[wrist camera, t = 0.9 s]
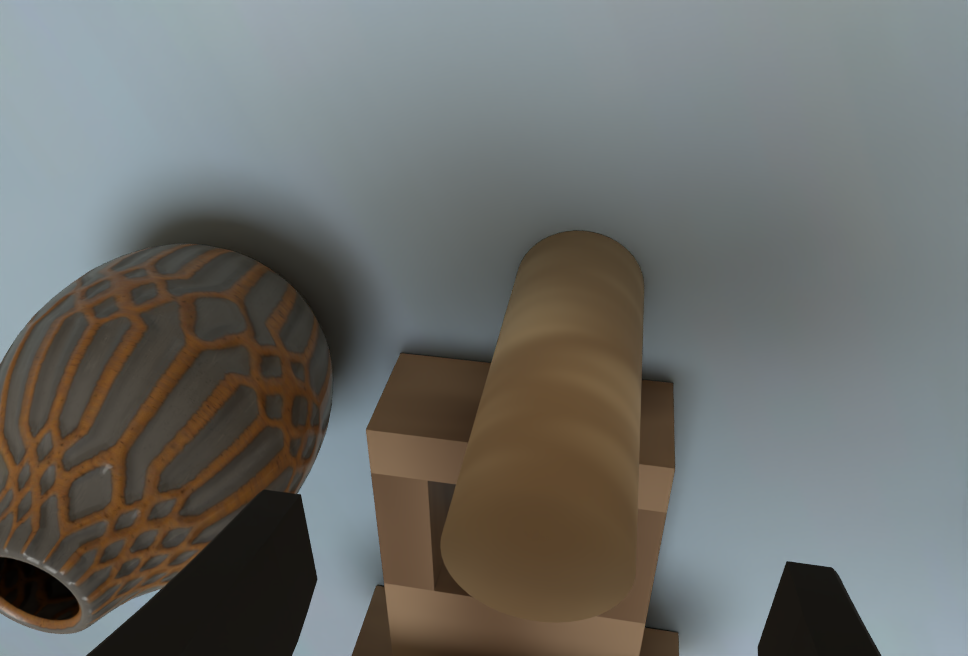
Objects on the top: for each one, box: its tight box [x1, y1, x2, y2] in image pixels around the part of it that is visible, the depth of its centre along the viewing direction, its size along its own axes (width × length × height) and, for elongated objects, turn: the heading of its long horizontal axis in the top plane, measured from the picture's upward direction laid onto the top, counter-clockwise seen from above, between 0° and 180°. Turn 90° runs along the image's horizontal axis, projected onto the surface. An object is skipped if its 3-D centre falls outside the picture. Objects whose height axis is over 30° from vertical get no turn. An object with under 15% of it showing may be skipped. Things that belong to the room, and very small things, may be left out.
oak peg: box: [440, 231, 644, 623], centre depth 15 cm, size 3×3×8 cm
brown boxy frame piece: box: [352, 353, 679, 656], centre depth 20 cm, size 10×11×7 cm
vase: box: [0, 244, 333, 634], centre depth 17 cm, size 7×7×9 cm
